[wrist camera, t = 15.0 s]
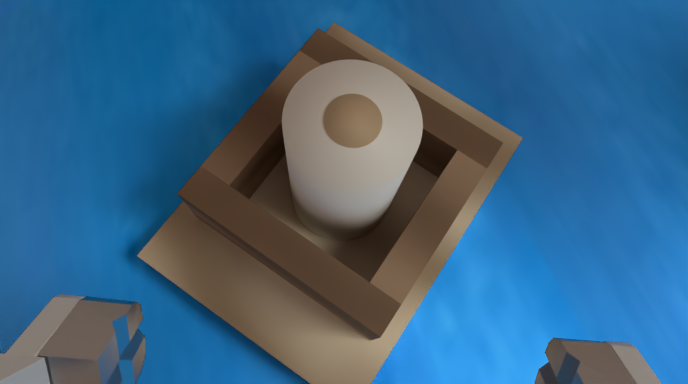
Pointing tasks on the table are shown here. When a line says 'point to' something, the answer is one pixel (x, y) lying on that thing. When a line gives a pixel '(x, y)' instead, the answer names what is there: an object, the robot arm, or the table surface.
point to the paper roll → (348, 145)
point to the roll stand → (317, 252)
